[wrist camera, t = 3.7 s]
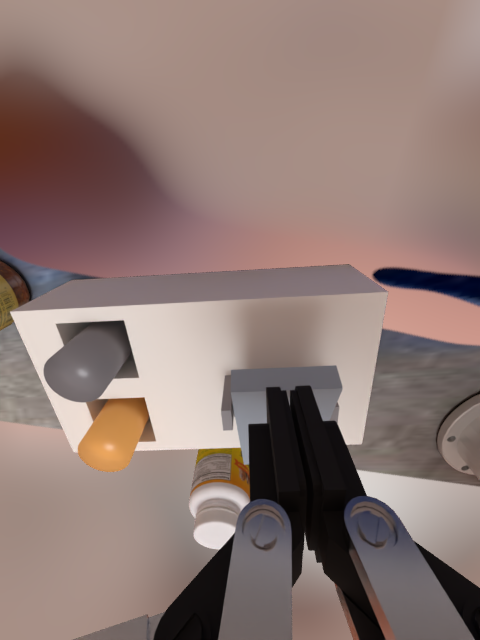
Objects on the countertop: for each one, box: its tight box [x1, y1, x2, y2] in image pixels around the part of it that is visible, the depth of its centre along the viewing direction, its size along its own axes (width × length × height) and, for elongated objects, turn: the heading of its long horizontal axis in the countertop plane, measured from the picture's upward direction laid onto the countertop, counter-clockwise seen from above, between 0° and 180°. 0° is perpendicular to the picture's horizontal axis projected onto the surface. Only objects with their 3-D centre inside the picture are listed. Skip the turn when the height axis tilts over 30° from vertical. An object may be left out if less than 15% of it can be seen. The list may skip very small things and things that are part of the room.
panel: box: [10, 264, 388, 452], centre depth 22 cm, size 24×13×10 cm, turn 94°
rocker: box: [231, 365, 343, 465], centre depth 17 cm, size 6×11×2 cm, turn 4°
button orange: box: [78, 397, 149, 472], centre depth 22 cm, size 4×4×8 cm
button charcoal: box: [43, 320, 132, 402], centre depth 20 cm, size 4×4×8 cm
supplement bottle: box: [189, 448, 250, 549], centre depth 27 cm, size 6×6×10 cm
